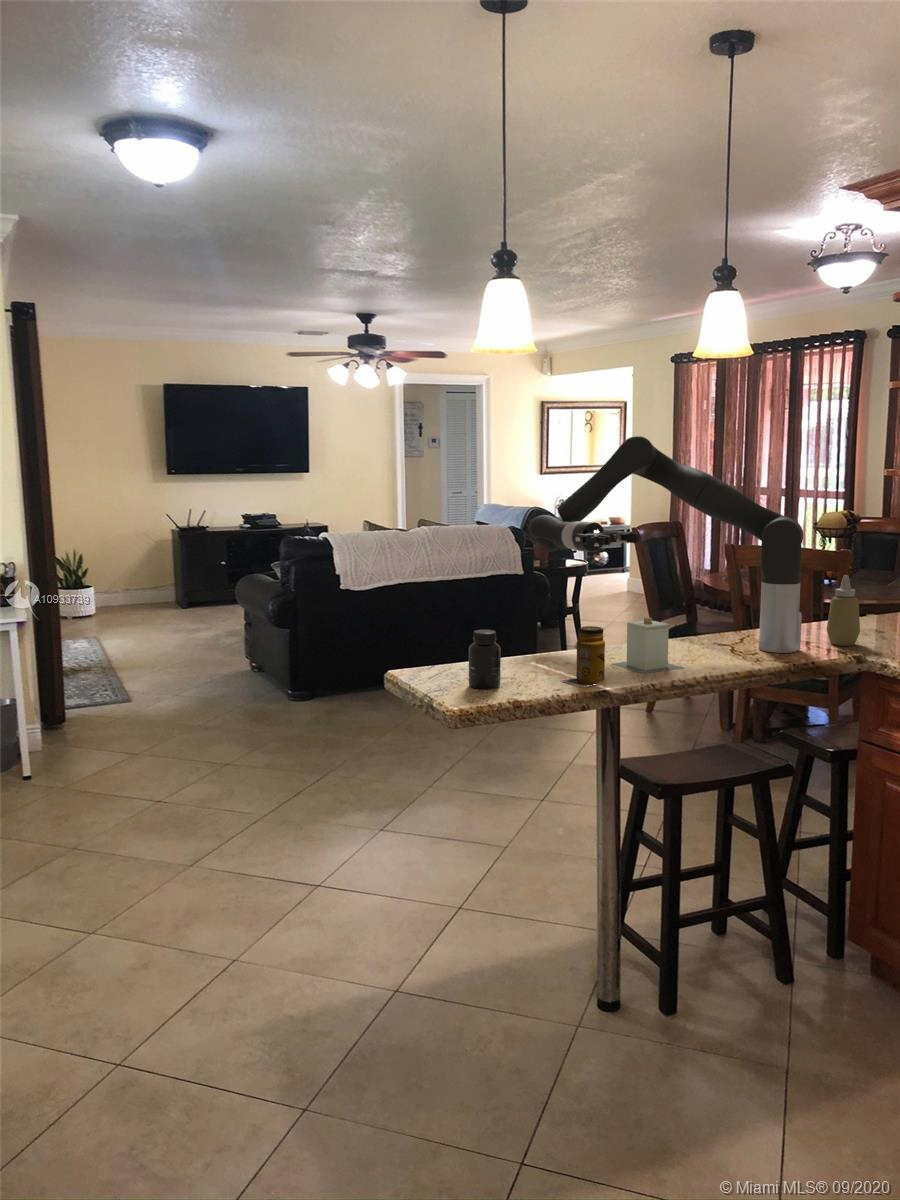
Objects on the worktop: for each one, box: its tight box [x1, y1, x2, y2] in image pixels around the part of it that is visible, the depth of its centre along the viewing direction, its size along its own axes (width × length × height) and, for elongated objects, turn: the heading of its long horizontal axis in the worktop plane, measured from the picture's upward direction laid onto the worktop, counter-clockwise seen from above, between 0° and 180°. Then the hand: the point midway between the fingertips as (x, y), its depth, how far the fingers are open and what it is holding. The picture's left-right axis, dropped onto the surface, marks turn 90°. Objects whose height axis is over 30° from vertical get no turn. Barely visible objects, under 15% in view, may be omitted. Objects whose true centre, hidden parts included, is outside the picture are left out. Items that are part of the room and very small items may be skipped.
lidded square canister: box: [626, 617, 670, 670], centre depth 208 cm, size 7×7×11 cm
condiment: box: [560, 625, 606, 688], centre depth 195 cm, size 7×8×12 cm
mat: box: [611, 661, 684, 675], centre depth 209 cm, size 12×12×1 cm
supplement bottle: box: [468, 629, 502, 691], centre depth 193 cm, size 7×7×12 cm
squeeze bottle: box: [826, 574, 861, 647], centre depth 233 cm, size 8×8×18 cm
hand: (623, 539), depth 215 cm, fingers open, 8 cm apart
